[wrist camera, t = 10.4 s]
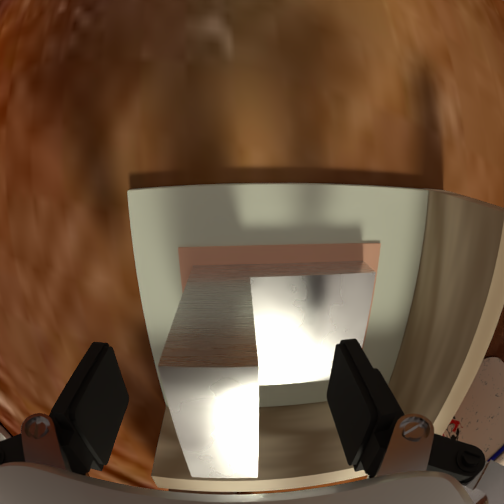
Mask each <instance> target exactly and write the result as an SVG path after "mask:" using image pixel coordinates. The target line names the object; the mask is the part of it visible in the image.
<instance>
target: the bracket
mask: <svg viewBox="0 0 504 504" xmlns="http://www.w3.org/2000/svg"><path fill="white" fill-rule="evenodd" d="M375 274H376V272H375V271H374V270H373V269H372V268H371V267H370V266H368V265H367V264H366V263H365V262H364V261H338V262H306V263H271V264H231V265H193V267H192V270H191V273H190V275H189V278H188V281H187V283H186V286H185V289H184V292H183V294H182V297H181V300H180V303H179V305H178V308H177V311H176V314H175V317H174V320H173V323H172V325H171V328H170V331H169V334H168V337H167V340H166V343H165V346H164V349H163V352H162V355H161V358H160V361H159V364H158V368H159V372H160V376H161V380H162V384H163V388H164V392H165V395H166V399H167V403H168V406H169V410H170V413H171V416H172V420H173V423H174V426H175V430H176V433H177V436H178V439H179V442H180V445H181V448H182V451H183V454H184V457H185V460H186V462H187V465H188V468H189V471H190V473H191V476H192V477H202V478H256V477H258V421H259V385H276V384H290V383H302V382H312V381H322V380H329V379H330V374H331V369H332V363H333V358H334V352H335V347H336V344H340V341H341V340H345V339H354V338H355V339H357V341H358V342H359V344H360V346H361V347H362V345H363V341H364V336H365V331H366V326H367V321H368V316H369V311H370V305H371V300H372V294H373V287H374V281H375Z"/></svg>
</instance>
